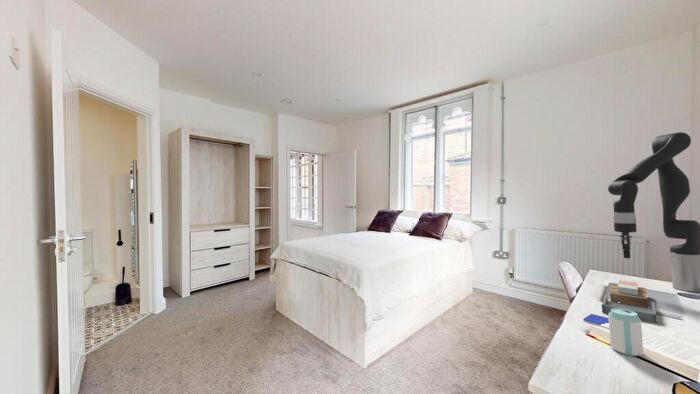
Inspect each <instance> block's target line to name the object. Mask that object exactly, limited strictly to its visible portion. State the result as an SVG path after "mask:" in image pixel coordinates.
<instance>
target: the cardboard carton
mask: <svg viewBox="0 0 700 394" xmlns="http://www.w3.org/2000/svg"><path fill="white" fill-rule="evenodd" d="M618 284H619V283H614V282H612V283H611V288H610V292H609V295H610V296H609V297H610V301H613V302H620V303H624V304H630V305H636V306H642V307H648V308H649V305H648V296H647V295H648V294H647V293H648V292H647V287H643V286H638V295H632V294H625V293H619V292H618Z"/></svg>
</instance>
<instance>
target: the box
mask: <svg viewBox="0 0 700 394" xmlns="http://www.w3.org/2000/svg"><path fill="white" fill-rule="evenodd" d="M608 299H609V298H608V294H604V296H603V300H602V303H601V313H603V314H607V315H608V314H609V313H610V312H611V309H612V308H621V309H627V310H630V311H633V312H635V313H637V314H638V315H637V316H638V317H639V318H640V319H641V321H643V322H644V321H645V322H648V323H653V324H657V323H658V319H657V318H658V317H657V312H656V311H657V310H656V306H655V305H656V304H655V302H653V301H651V302H650V303H651V307H649V306H648V307H642V306H636V305H630V304H624V303H618V302H613V301H611V300H608Z"/></svg>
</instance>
